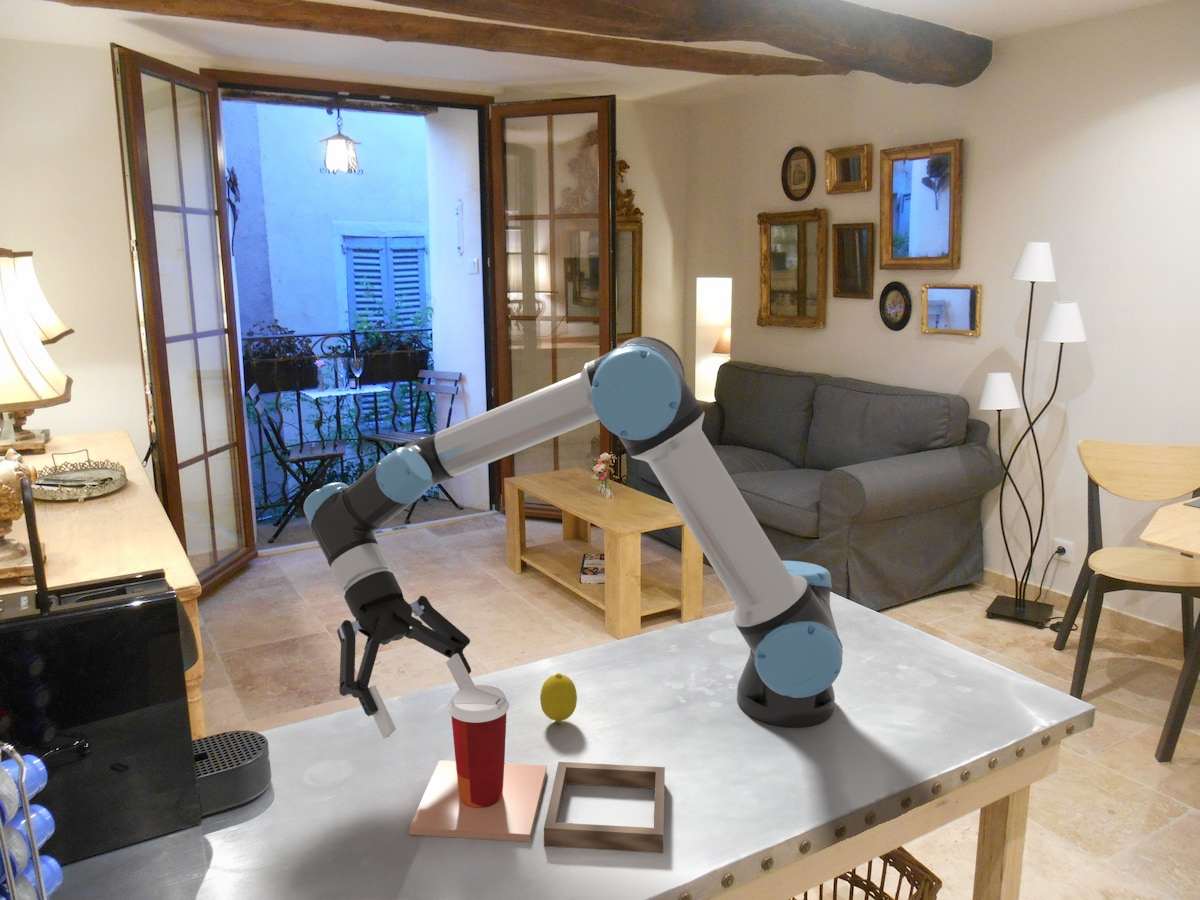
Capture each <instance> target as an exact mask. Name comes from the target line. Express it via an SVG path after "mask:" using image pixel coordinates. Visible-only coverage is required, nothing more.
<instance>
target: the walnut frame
mask: <svg viewBox="0 0 1200 900" xmlns="http://www.w3.org/2000/svg"><path fill="white" fill-rule="evenodd" d="M556 767H557V768H556V771H555V776H554V780H553V781H554V782H553V784H552V790H551V794H550V799H549V803H548V808H547V812H546V817H545V821H544V825H543V846H544V847H553V848H567V849H568V848H570V849H589V850H600V851H601V850H605V851H621V852H625V851H626V852H638V853H654V854H655V853H656V854H663V853H664V835H665V834H664V831H665V830H664V825H665V823H664V822H665V819H664V818H665V785H666V784H665V779H666V778H665V775H666V774H665V773H666V772H665V771H666V766H648V765H629V764H612V763H611V764H608V763H607V764H606V763H588V762H587V763H586V762H573V761H572V762H570V761H558V763H557V766H556ZM567 785H581V786H582V785H583V786H601V787H602V786H604V787H619V788H620V787H621V788H623V787H624V788H640V789H641V788H642V789H643V788H644V789H654V809H653V810H654V811H653V827H645V826H644V827H642V826H629V825H627V826H626V825H625V826H624V825H609V824H608V825H607V824H589V823H588V824H587V823H571V822H570V823H569V822H560V817H561V812H562V806H563V801H564V797H565V792H566V787H567Z"/></svg>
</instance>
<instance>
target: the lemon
mask: <svg viewBox="0 0 1200 900" xmlns="http://www.w3.org/2000/svg"><path fill="white" fill-rule="evenodd" d="M577 694H578V693H577V689H576V686H575V684H574V682H573V680H572V679H571V678H570V677H568V676H567V675H565V674H562V673H559V672H558V673H555V674H553V675H550V676H549V677H548V678H547V679H545V681H544V682H543V684H542V687H541V690H540V697H539V699H540V707H541V710H542V712H543V714H544V715H545V716H546V717H547V718H548V719H550V720H551V721H552V720H553V721H555V722H556V723H561V722H562V721H564V720H567V719H569V718H570V717H571V716H572V715H573V713H574V712H575V710H576V708H577V703H578V695H577Z"/></svg>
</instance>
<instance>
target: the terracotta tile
mask: <svg viewBox="0 0 1200 900" xmlns="http://www.w3.org/2000/svg"><path fill="white" fill-rule="evenodd" d="M547 769H548V767H547V765H542V764H541V765H540V764H523V763H522V764H521V763H520V764H518V763H504V780H503V793H502V797H501V799H500V800H499V801H498V802H497V803H496V804H494V805H492V806H489V807H485V808H473V807H469V806H467V805H465V804H463V803H462V802H461V800H460V796H459V788H458V779H457V770H456V760H441V759H439V761H438V763H437V765H436V767H435V769H434V771H433V774H432V775H431V778H430V780H429V782H428V784H427V787H426V789H425V791H424V794H423V796H422V798H421V800H420V803H419V805H418V807H417V809H416V811H415V814H414V816H413V819H412V820H411V823H410V825H409V827H408V830H409V833H408V835H409V836H426V837H442V838H458V839H459V838H461V839H475V840H478V839H479V840H496V841H509V842H510V841H511V842H513V841H514V842H531V839H532V836H533V831H534V827H535V823H536V819H537V814H538V811H539V805H540V802H541V798H542V793H543V790H544V785H545V781H546V776H547V772H548V771H547Z"/></svg>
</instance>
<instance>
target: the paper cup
mask: <svg viewBox="0 0 1200 900" xmlns="http://www.w3.org/2000/svg"><path fill="white" fill-rule="evenodd" d="M447 709H448V713H449V715H450V716H451V717H450V718H451V726H452V735H453V736H452V737H453V747H454V758H455V761H456V770H457V779H458V788H459V796H460V800H461V802H462V803H463V804H465V805H467V806H469V807H473V808H485V807H489V806H492V805H494V804H496V803H497V802H498V801H499V800H500V799H501V797H502V793H503V780H504V764H505V758H506V757H505V755H506V735H507V734H506V733H507V712H508V710H509V709H510V702H509V700H508V699H507V696H506V694H505V692H504V691H503V690H502V689H500V688H499V687H497V686H493V685H489V684H488V685H487V684H474V686H470V687H466V688H463V689H461V690H460V689H459V690H457V691H456V693H455V694H454V695H453V696H451V699H450V701H449V703H448V704H447Z"/></svg>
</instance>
